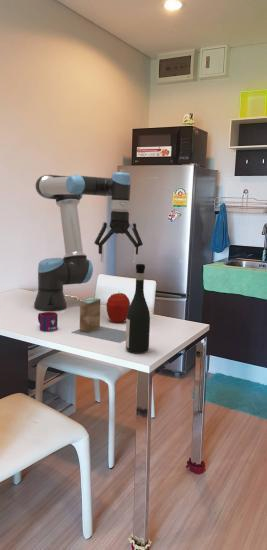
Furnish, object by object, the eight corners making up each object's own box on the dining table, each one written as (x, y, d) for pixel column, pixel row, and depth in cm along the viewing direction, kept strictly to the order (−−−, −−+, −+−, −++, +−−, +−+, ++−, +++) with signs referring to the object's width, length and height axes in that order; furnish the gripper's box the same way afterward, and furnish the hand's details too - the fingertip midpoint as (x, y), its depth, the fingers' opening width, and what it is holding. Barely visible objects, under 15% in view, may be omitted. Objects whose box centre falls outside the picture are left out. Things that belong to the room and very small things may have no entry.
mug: (45, 334, 163) (45, 316, 162) (32, 328, 170) (32, 311, 169) (60, 331, 167) (60, 314, 166) (47, 325, 175) (48, 309, 173)
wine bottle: (121, 351, 146) (125, 264, 141) (130, 345, 153) (133, 262, 149) (144, 355, 143) (148, 266, 139) (151, 348, 151) (155, 263, 146)
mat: (70, 333, 164) (70, 332, 164) (91, 325, 176) (91, 324, 176) (120, 344, 154) (120, 342, 154) (138, 335, 166) (138, 333, 166)
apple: (119, 318, 190) (120, 287, 188) (134, 323, 183) (135, 291, 181) (100, 321, 183) (101, 289, 181) (116, 327, 176) (117, 293, 174)
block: (79, 331, 166) (80, 301, 164) (91, 326, 173) (92, 297, 171) (88, 333, 164) (88, 302, 162) (99, 328, 171) (100, 299, 169)
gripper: (91, 210, 170) (90, 263, 173) (151, 212, 177) (148, 263, 180) (88, 209, 177) (87, 260, 180) (146, 211, 184) (143, 260, 187)
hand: (118, 262), depth 180 cm, fingers open, 13 cm apart
